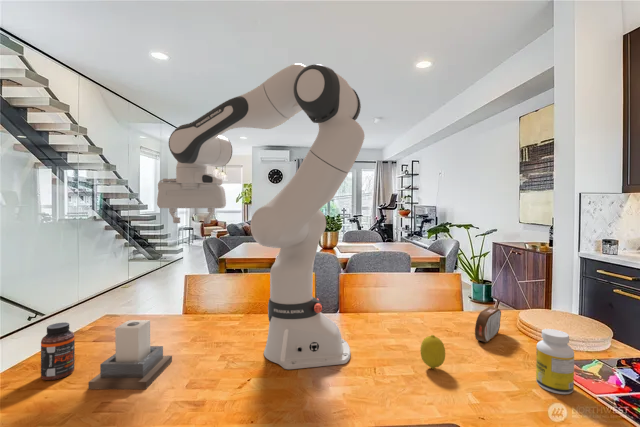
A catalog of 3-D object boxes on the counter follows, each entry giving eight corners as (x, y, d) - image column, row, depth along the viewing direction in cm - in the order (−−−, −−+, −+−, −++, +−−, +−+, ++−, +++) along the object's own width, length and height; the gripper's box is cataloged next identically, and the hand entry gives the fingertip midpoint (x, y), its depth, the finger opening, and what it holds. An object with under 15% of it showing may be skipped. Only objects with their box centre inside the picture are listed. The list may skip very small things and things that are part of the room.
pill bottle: (537, 375, 73) (538, 324, 73) (574, 386, 69) (574, 331, 69) (534, 388, 68) (534, 333, 68) (573, 400, 64) (574, 341, 64)
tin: (491, 329, 101) (491, 303, 101) (502, 332, 98) (502, 305, 98) (473, 344, 90) (473, 314, 90) (485, 347, 88) (485, 316, 88)
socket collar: (163, 358, 78) (162, 346, 78) (142, 378, 69) (142, 364, 69) (125, 358, 78) (125, 346, 78) (100, 378, 69) (100, 364, 69)
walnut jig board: (172, 361, 79) (172, 355, 79) (146, 388, 67) (146, 381, 67) (123, 361, 79) (122, 355, 79) (88, 389, 67) (88, 382, 67)
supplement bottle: (55, 383, 70) (55, 331, 69) (33, 380, 71) (33, 329, 71) (81, 369, 75) (80, 321, 75) (60, 367, 77) (60, 319, 76)
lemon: (429, 376, 73) (429, 341, 73) (415, 364, 78) (416, 331, 78) (450, 372, 74) (450, 338, 74) (435, 361, 79) (435, 329, 79)
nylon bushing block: (150, 362, 76) (150, 319, 76) (138, 373, 71) (138, 327, 71) (128, 362, 76) (128, 319, 75) (115, 373, 71) (115, 327, 70)
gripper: (152, 177, 96) (153, 223, 96) (221, 177, 96) (221, 223, 97) (162, 179, 103) (163, 222, 103) (227, 179, 103) (227, 222, 103)
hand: (192, 223), depth 100 cm, fingers open, 8 cm apart
